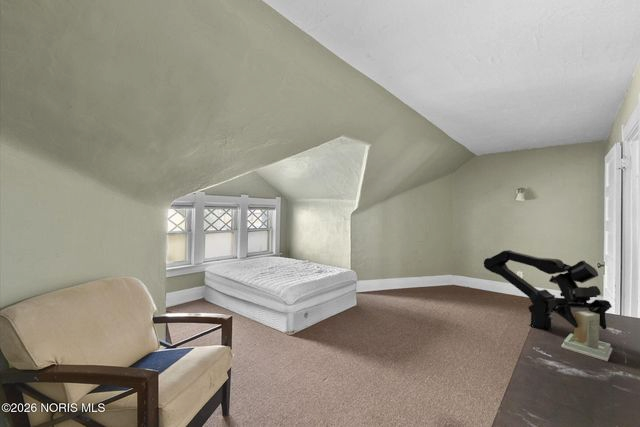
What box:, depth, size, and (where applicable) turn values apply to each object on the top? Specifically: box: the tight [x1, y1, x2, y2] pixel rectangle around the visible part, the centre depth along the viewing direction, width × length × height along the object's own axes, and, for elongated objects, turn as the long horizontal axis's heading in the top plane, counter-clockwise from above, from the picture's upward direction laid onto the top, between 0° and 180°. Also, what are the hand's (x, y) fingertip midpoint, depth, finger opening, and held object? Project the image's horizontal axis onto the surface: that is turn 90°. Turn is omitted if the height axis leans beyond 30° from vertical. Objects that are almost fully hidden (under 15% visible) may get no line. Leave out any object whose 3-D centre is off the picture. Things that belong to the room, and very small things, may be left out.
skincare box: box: [573, 310, 600, 349], centre depth 106 cm, size 6×4×12 cm
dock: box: [560, 332, 613, 362], centre depth 106 cm, size 12×12×2 cm
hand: (591, 328), depth 104 cm, fingers open, 9 cm apart
